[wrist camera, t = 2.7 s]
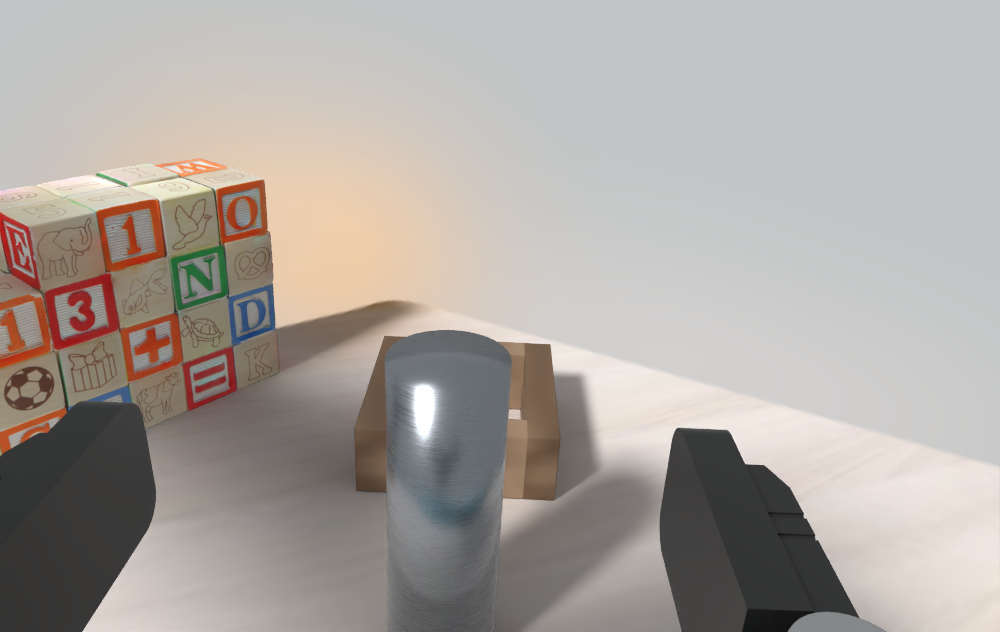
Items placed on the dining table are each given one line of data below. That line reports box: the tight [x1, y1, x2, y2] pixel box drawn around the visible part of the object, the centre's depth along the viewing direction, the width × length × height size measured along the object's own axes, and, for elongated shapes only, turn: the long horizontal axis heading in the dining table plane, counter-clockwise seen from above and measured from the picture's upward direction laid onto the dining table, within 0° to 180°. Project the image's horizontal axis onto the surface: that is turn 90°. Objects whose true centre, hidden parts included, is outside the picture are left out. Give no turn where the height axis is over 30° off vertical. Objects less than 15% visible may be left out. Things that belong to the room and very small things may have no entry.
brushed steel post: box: [385, 330, 512, 632], centre depth 27 cm, size 4×4×12 cm
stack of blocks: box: [0, 159, 279, 456], centre depth 38 cm, size 21×6×12 cm, turn 142°
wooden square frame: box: [354, 336, 560, 500], centre depth 40 cm, size 10×10×4 cm
